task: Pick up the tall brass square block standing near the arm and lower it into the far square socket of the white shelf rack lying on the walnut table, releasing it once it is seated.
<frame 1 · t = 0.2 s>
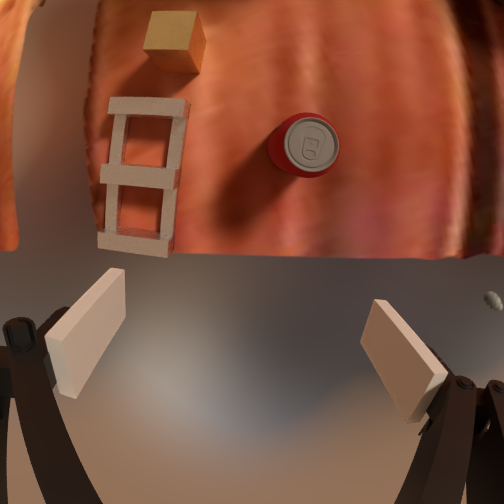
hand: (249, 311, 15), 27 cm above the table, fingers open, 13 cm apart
beverage can: (291, 147, 39), on the table
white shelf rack: (145, 174, 39), on the table
brass block: (185, 56, 35), on the table
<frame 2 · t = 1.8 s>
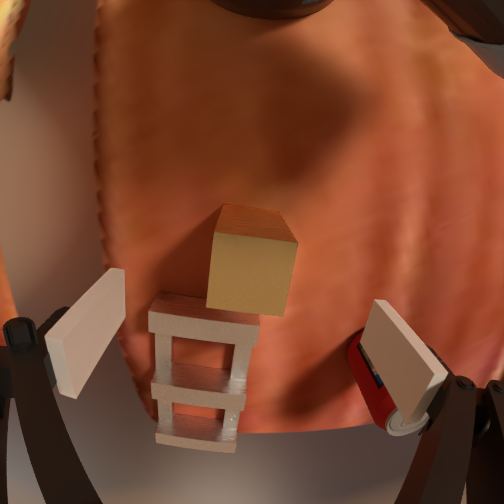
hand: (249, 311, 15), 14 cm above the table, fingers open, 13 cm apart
beverage can: (371, 344, 33), on the table
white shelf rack: (201, 374, 33), on the table
brass block: (247, 234, 28), on the table
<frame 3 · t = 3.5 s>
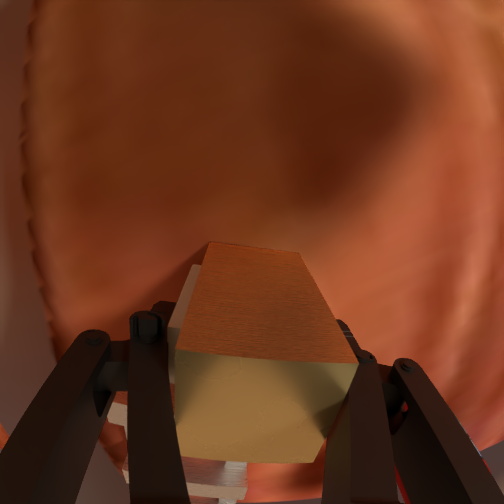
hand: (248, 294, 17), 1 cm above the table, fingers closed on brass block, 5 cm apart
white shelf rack: (188, 453, 23), on the table
brass block: (248, 288, 18), on the table, touching gripper
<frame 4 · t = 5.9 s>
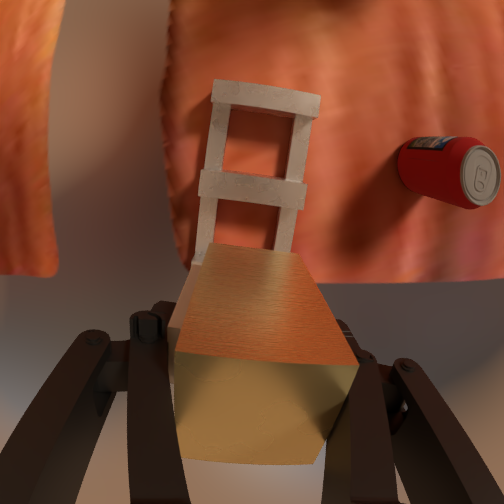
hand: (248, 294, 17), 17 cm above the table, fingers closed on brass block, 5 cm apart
beverage can: (416, 164, 32), on the table
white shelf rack: (251, 185, 32), on the table
brass block: (248, 289, 18), point 16 cm above the table, touching gripper
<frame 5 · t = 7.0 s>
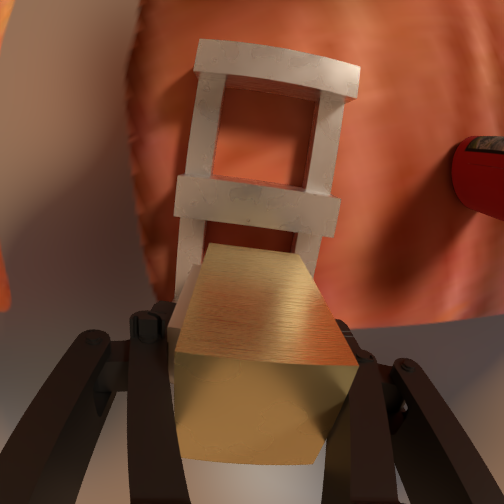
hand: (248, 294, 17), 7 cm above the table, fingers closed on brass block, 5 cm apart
beverage can: (470, 172, 22), on the table
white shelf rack: (255, 197, 22), on the table
brass block: (248, 289, 18), point 6 cm above the table, touching gripper
when the fingers open (3 cm above the table, at t = 8.1 s): brass block drops 2 cm, resting in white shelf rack.
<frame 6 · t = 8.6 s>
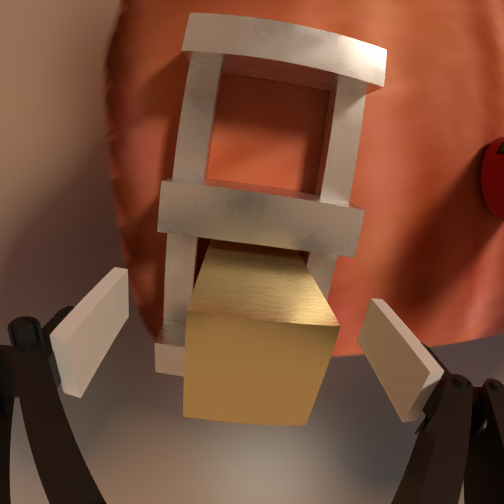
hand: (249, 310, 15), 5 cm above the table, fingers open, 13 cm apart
beverage can: (498, 177, 18), on the table
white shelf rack: (258, 206, 19), on the table
brass block: (247, 275, 20), resting in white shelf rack
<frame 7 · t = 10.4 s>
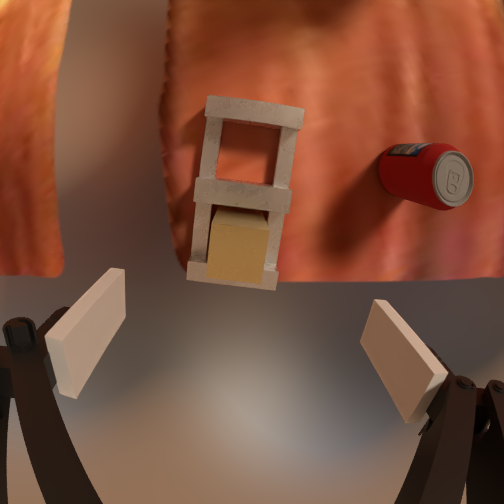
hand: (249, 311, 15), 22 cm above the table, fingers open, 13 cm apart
beverage can: (397, 170, 35), on the table
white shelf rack: (242, 191, 35), on the table
brass block: (237, 229, 37), resting in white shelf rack
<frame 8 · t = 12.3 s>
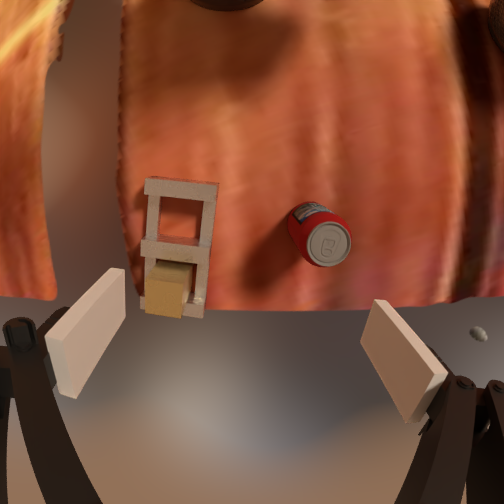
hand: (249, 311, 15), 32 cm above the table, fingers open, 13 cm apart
beverage can: (307, 222, 47), on the table
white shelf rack: (179, 244, 47), on the table
brass block: (177, 271, 48), resting in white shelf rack
planter: (502, 35, 35), on the table
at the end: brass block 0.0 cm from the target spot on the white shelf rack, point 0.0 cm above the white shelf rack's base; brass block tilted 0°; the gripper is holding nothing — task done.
